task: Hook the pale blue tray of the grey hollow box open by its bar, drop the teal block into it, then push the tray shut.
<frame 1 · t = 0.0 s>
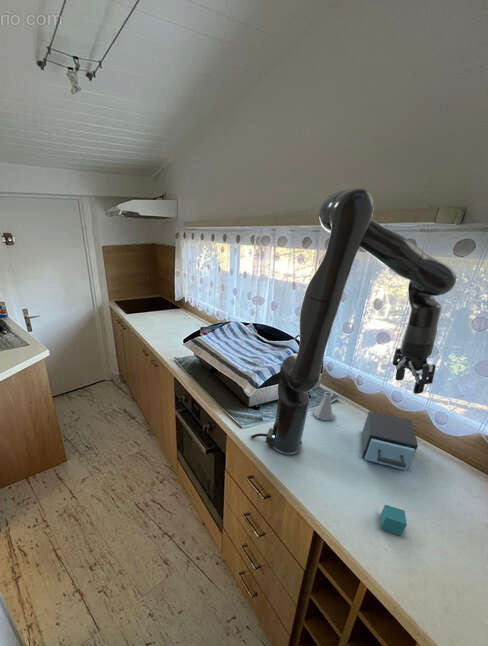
hand: (408, 386, 96), 22 cm above the worktop, tool pointing down, fingers open, 8 cm apart
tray: (388, 447, 97), point 5 cm above the worktop, slide at 0.5 cm
teal block: (390, 525, 78), on the worktop
grey hollow box: (382, 449, 103), on the worktop
flask: (323, 416, 121), on the worktop
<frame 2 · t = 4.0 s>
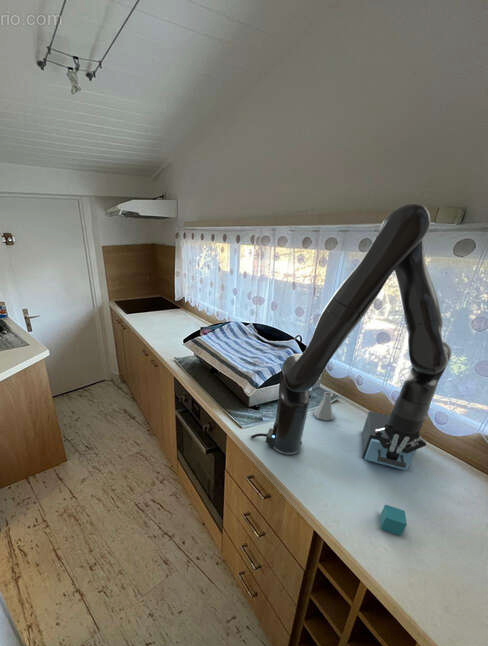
hand: (390, 459, 92), 5 cm above the worktop, tool pointing down, fingers closed
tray: (388, 447, 97), point 5 cm above the worktop, slide at 0.5 cm, touching gripper
everything else where it was.
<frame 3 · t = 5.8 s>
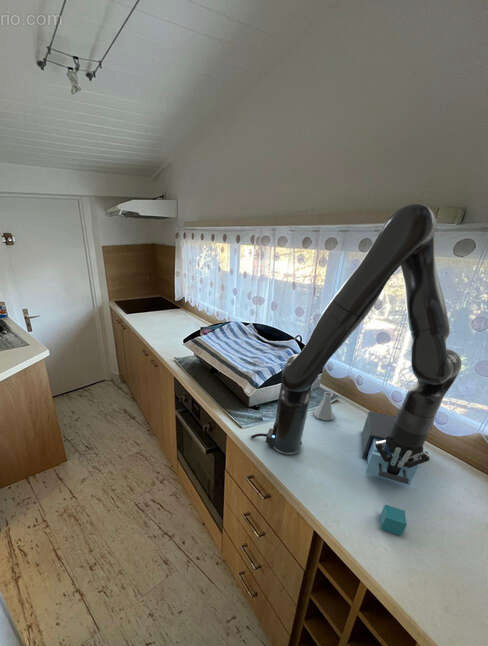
hand: (391, 473, 87), 5 cm above the worktop, tool pointing down, fingers closed
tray: (389, 460, 92), point 5 cm above the worktop, slide at 7.2 cm, touching gripper
everything else where it was.
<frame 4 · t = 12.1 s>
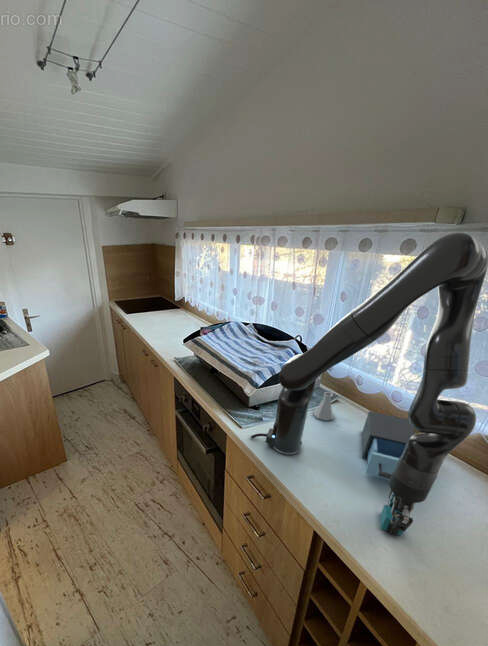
hand: (390, 524, 78), 0 cm above the worktop, tool pointing down, fingers closed on teal block, 4 cm apart
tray: (389, 460, 92), point 5 cm above the worktop, slide at 7.2 cm
teal block: (390, 525, 78), on the worktop, touching gripper
everything else where it was.
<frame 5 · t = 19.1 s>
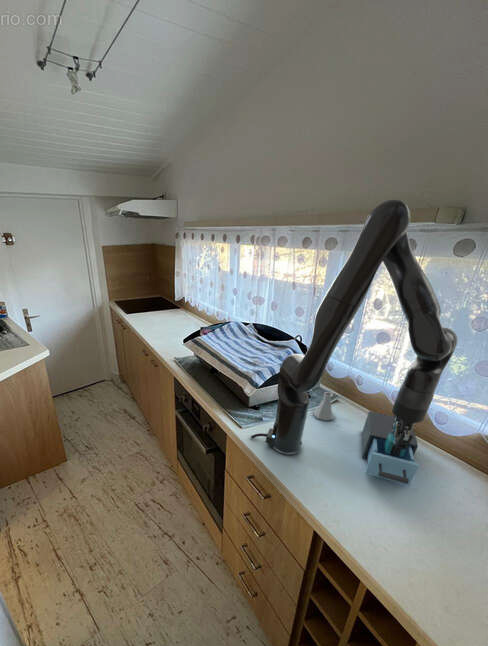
hand: (393, 449, 91), 9 cm above the worktop, tool pointing down, fingers closed on teal block, 4 cm apart
teal block: (393, 450, 91), point 8 cm above the worktop, touching gripper
everything else where it was.
when the fingers open (10 cm above the worktop, at t = 26.6 s): teal block drops 8 cm, resting on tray.
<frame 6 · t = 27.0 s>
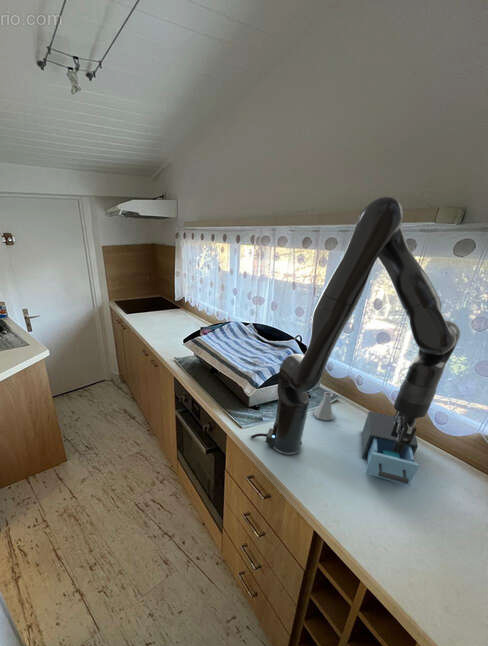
hand: (395, 443, 89), 11 cm above the worktop, tool pointing down, fingers open, 7 cm apart
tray: (389, 460, 92), point 5 cm above the worktop, slide at 7.2 cm, touching teal block
teal block: (387, 466, 93), point 2 cm above the worktop, touching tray
everything else where it was.
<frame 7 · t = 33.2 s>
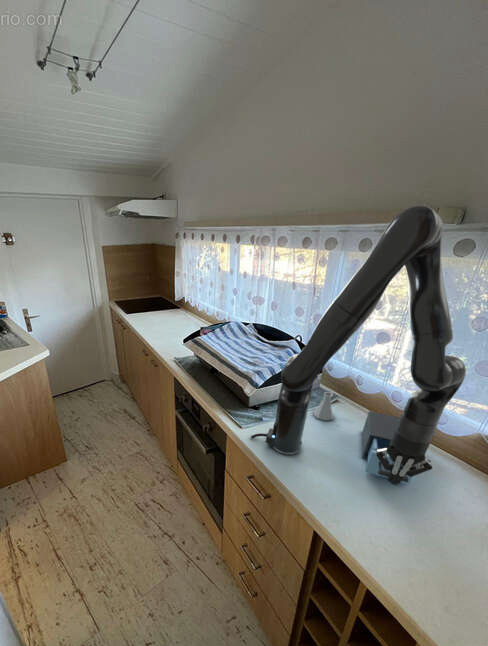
hand: (392, 482, 84), 5 cm above the worktop, tool pointing down, fingers closed
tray: (389, 459, 92), point 5 cm above the worktop, slide at 6.5 cm, touching gripper, teal block
everything else where it was.
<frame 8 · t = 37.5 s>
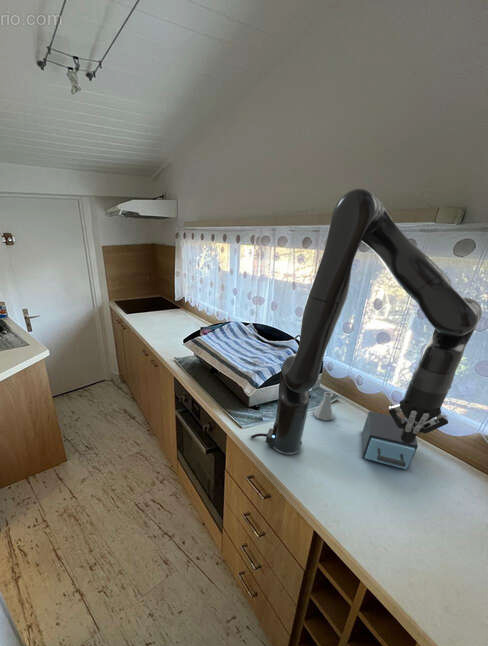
hand: (405, 441, 81), 17 cm above the worktop, tool pointing down, fingers closed
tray: (388, 446, 98), point 5 cm above the worktop, slide at 0.0 cm, touching grey hollow box, teal block
teal block: (385, 452, 99), point 2 cm above the worktop, touching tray
everything else where it was.
at the end: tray pulled out 7.2 cm at the most during the clip, back to where it started at the end; teal block inside the target area in the grey hollow box (3.9 cm from its centre), point 2.0 cm above the grey hollow box's base; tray slide at 0.0 cm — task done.
